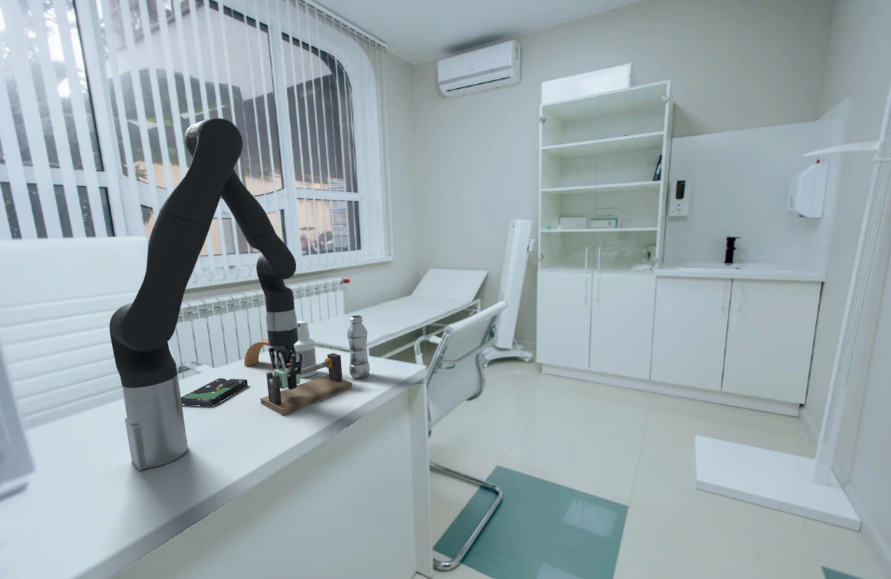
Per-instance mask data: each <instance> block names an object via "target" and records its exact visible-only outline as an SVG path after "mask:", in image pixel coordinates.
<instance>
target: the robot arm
mask: <svg viewBox="0 0 891 579" xmlns="http://www.w3.org/2000/svg"><path fill="white" fill-rule="evenodd" d="M184 144H185V147H186V149H187V151H188V153H189V154H190V156H191V157H192V159H191V163H190V166H189V168H188V170H187V172H186V173H185V175H184V176H183V178H182V179H181V180H180V182H178V184H177V185H176V186H175V188H174V189H173V190H172V191H171V193H170V194H169V196H168V197H167V198H166V199H165V201H164V203H163V204H162V206H161V208H160V210H159V212H158V215H157V216H156V220H155V222H154V225H153V227H152V230H151V233H150V235H149V240H148V247H147V257H146V269H145V274H144V276H143V280H142V283H141V285H140V287H139V290H138V292H137V293H136V296H135V298H134V299H133V302H130V303H126V304H124V305H121V306H120V307H119V308H118V309H116V311H115V312H114V313H113V314H112V315H111V317H110V320H109V329H108V330H109V335H110V336H109V337H110V342H111V348H112V352H113V353H112V354H113V357H114V362H115V367H116V370H117V372H118V375H119V378H120V383H121V388H122V395H123V401H124V405H125V406H124V407H125V408H124V409H125V414H126V417H125V419H124V424H125V428H126V434H127V440H128V446H129V452H130V454H129V455H130V458H131V462H132V463H133V464H134V466H135V467H136V468H137V470H138V471H139V472H140V471H144V470H146V469H151V468H155V467H160V466H164V465H167V464H169V463H172V462H174V461H175V460H177V459H179V458H180V457H182V456H184V455H185V454H186V452H187V451H188V448H189V445H188V438H187V432H186V425H185V424H186V423H185V419H184V410H183V405H182V402H181V397H182V396H181V389H180V382H179V376H178V375H179V374H178V368H177V367H178V365H177V363H176V360H175V359H174V357H173V355H172V353H171V350H170V346H169V345H170V344H169V341H170V340H171V339H172V337H173V336H174V334H175V331H176V328H177V323H178V320H179V316H180V311H181V307H182V302H183V300H184V297H185V296H184V295H185V292H186V290H187V289H186V288H187V286H188V283H189V281H190V279H191V276H192V274H193V272H194V270H195V267H196V265H197V262H198V260H199V257H200V254H201V252H202V250H203V249H204V248H203V247H204V244H205V242H206V240H207V237H208V234H209V231H210V229H211V226H212V222H213V219H214V217H215V215H216V211H217V208H218V206H219V203H220V199H221V198H222V200H223V201H224V203H225V204H226V206H227V208H228V209H229V211H230V213H231V214H232V216H233V218H234V220H235V221H236V223H237V226H238V227H239V229H240V231H241V232H242V234H243V236H244V239H245V240H246V242H247V244H248V245H249V246H250V247H251V248H252V249H254V250H257V251H258V252H260V255H259V257H258V258H257V260H256V265H255V266H256V267H255V268H256V275H257V279H258V281H259V284H260V287H261V289H262V292H263V296H264V300H265V301H264V302H265V312H266V314H265V316H266V317H265V321H266V332H267V339H268V343H269V345H270V346H273V347H272V348H271V347H270V346H269V347H268V354H269V358H270V362H271V365H272V366H271V367H272V369H273V370H276V369H280V368H284V369H286V373H287V376H288V377H287V381H288V388H287V389H290V390H292V389H294V388H296V387H297V385H298V384H297V381H296V375H297V374H300V373H301V365H302V354H296V351H295V348H294V344H295V343H297V342H298V330H297V322H298V321H297V315H296V314H297V313H296V309H295V300H294V298H295V297H294V292H293V290H292V289H291V288H290V287H288V286H287V285H286V284H285V281H284V280H287V279H291V277H293V276H294V275H295V273H296V271H297V263H296V259H295V256H294V254H293V253H292V251H291V250H290V249H289V248H288V246H287V245H286V244H285V242H283V240H282V238H281V237H280V236H278V234H277V233H276V229H275V228H274V226H273V224H272V222H271V220H270V218H269V215H268V214H267V212H266V210H265V209H264V207H263V206H262V205H261V204H260V202H259V201H258V200H257V198H255V196H254V195H253V194H252V193H251V192H250V191H249V189H247V187H246V186H245V185H244V183H243V182H242V181H241V179H240V177H239V176H238V174H237V172H236V171H235V167H236V164H237V163H238V161H239V159H240V157H241V155H242V152H243V147H244V143H243V138H242V134H241V132H240V130H239V128H238V127H237V126H236V125H235V124H234V122H233V123H232V121H229V119H225V118H221V117H220V118H219V117H215V118H208V119H204V120H201V121H199V122H197V123H196V122H195V123H194V124H191V125H190V126H189V127H188V128H187V129H186V130H185V132H184ZM288 363H291V364H290V365H287V364H288ZM290 367H291V368H290ZM289 368H290V369H289Z"/></svg>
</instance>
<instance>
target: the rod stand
mask: <svg viewBox="0 0 891 579" xmlns="http://www.w3.org/2000/svg"><path fill="white" fill-rule="evenodd" d="M326 357H327V358H325V359H324V361H323V362H319V363H316V365H313V366H310V367H307V368H303V369H301V373H300V375H303V374H306V373H309V372H312V371H315V370H317V371H318V370H321V369H324V368H327V370H328V374H325V375H323V376H320V377H317V378H314V379H312V380H309V381H306V382H303V383H300V384H297V387H296V388H294V389H292V390H290V389H288V388H286V389H282V390H281V388H280V382H281V381H280V376H279V375H277V374H276V375H274V372H272V371H270V372H269V371H268V372H266V376H265V377H266V383H267V393H268V395H267V396H264V397H261V398H259V399H260V404H261V405H262V406H263V407H264V406H265V407H266V408H268V409H270V410H272V411H274V412H276V413H277V414H279V415H281V416H286V415H288V414H291V413H293V412H295V411H297V410H300V409H302V408H304V407H307V406H310V405H313V404H314V403H315V404H316V403H317V402H319V401H322V400H325V399H327V398H329V397H332V396H334V395H337V394H339V393H342V392H344V390H345V391H346V390H349V389H352V388H353V382H351V381H348V380H346V379H343V370H342V357H341V354H337V353H334V352H332V353H327V356H326ZM351 387H352V388H351Z"/></svg>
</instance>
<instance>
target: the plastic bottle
mask: <svg viewBox="0 0 891 579" xmlns="http://www.w3.org/2000/svg"><path fill="white" fill-rule="evenodd" d="M363 321H364V320H363V316H362V315H351V316H350V323H349V324H350V326H349V327H348V329H347V332H346V336H347V341H348V346H349V347H348V348H349V354H350V355H349V357H350V359H349V371H348V372H349V375H350V376H351V377H352V378H353V379H362V378H365V377H367V376H369V374H370V370H371V367H370V362H369V358H368V350H367V347H368V346H367V342H368V330H367V328H366V327H365V326H364V324H363Z"/></svg>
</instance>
